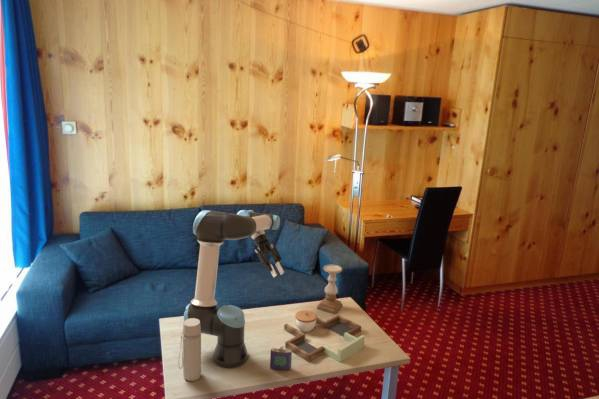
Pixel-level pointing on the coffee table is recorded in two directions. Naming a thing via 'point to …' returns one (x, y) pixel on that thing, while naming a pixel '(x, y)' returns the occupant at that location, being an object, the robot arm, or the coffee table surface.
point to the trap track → (311, 352)
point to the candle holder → (331, 291)
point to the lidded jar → (305, 320)
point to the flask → (280, 359)
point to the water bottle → (191, 349)
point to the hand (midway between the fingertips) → (278, 274)
